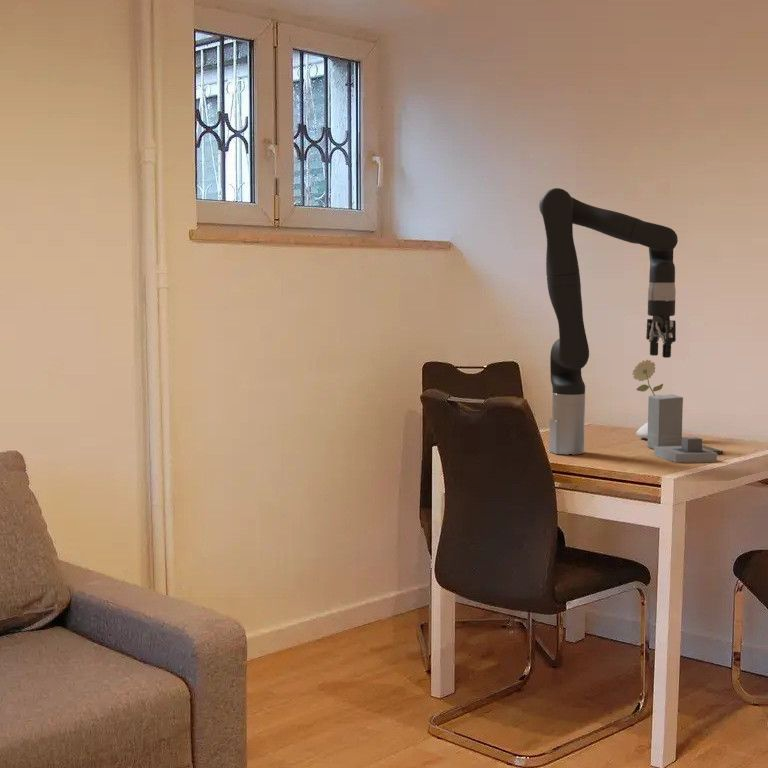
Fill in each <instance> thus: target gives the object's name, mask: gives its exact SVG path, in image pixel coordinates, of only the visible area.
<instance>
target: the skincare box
mask: <svg viewBox="0 0 768 768" xmlns="http://www.w3.org/2000/svg"><path fill="white" fill-rule="evenodd" d="M659 395H660V396H649V397H648V403H647V404H648V405H647V406H648V409H647V422H648V439H647V448H648V449H651V448H652V450H654V449H655V447H661V446H681V445H682V437H683V406H684V397H683V396H679V395H675V394H663V395H662V394H659Z"/></svg>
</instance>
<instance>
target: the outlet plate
mask: <svg viewBox="0 0 768 768" xmlns="http://www.w3.org/2000/svg"><path fill="white" fill-rule="evenodd" d="M653 450H654V449H653ZM653 456H656V457H658V456H659V457H660V458H662V459H664V460H667V461H669V460H670V462H672V461H673V462H672V463H676V464H677V463H679V464H681V462H687V463H712V462H713V463H715V462H716V463H717V461H718V455H717V453H715V452H712V451H709V450H706V449H703V448H702V452H685V451H682V450H681V446H661V447H655V450H654V454H653Z"/></svg>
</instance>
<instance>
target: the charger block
mask: <svg viewBox="0 0 768 768" xmlns="http://www.w3.org/2000/svg"><path fill="white" fill-rule="evenodd" d="M702 445H703V438H701V437H697V436H682V445H681V450H682V451H685V452H702Z"/></svg>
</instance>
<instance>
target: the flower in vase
mask: <svg viewBox="0 0 768 768" xmlns="http://www.w3.org/2000/svg"><path fill="white" fill-rule="evenodd" d="M655 366H656V364H655V362H653V361H652V360H650V359H646V360H642V361H639V362H638V363H637V365H635V366H634V369H633V370H632V376H633V377H632V379H634V380H638V382H641V381H642V382H644V381H646V380H647V384H648V385H647V384H641V385H639V386H638V387H637V388H636V391H638V392H646V391H647V390H649V389H650V391H651V393H652V394H648V395H647V396H648V398H649V396H660V395H661V394H655V392H658V391H661V390H662V389H663V386H664V383H661V384H659V385H657V386H654V387H653V388H652V387H651V385H650V380H649V379H651V378H652V376H653V375H654V373H655V372H656V367H655ZM636 435H637V436H638V437H639V438H643V439H646V440H648V421H647V422H646V423H645V424H643V425H642V426H641V427H639V428H638V429H637V431H636Z"/></svg>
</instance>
